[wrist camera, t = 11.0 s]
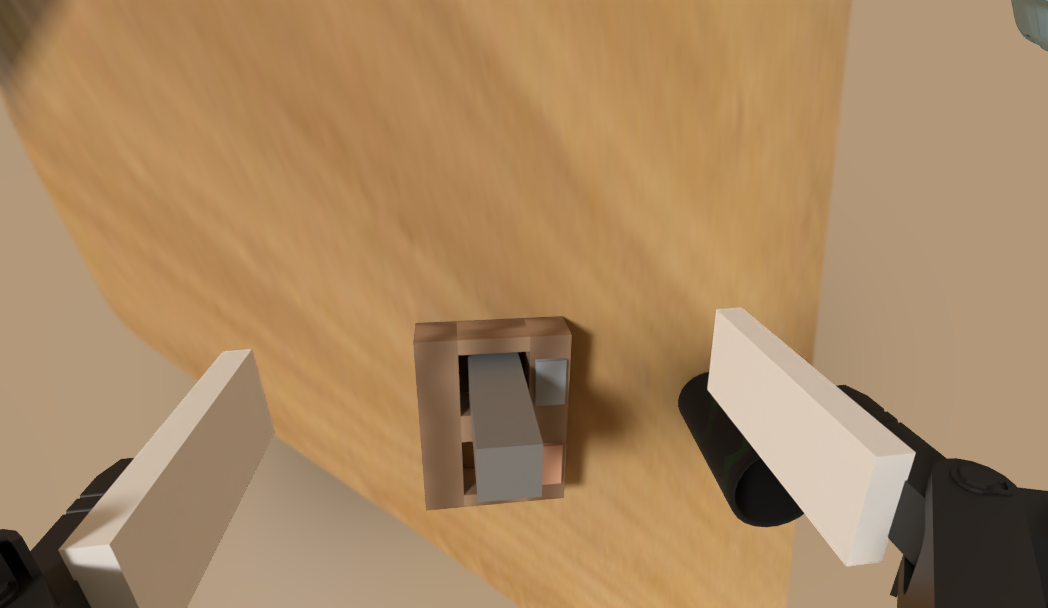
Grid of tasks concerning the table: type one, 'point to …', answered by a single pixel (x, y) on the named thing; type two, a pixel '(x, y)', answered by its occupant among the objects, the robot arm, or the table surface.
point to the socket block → (450, 409)
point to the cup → (735, 460)
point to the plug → (503, 429)
